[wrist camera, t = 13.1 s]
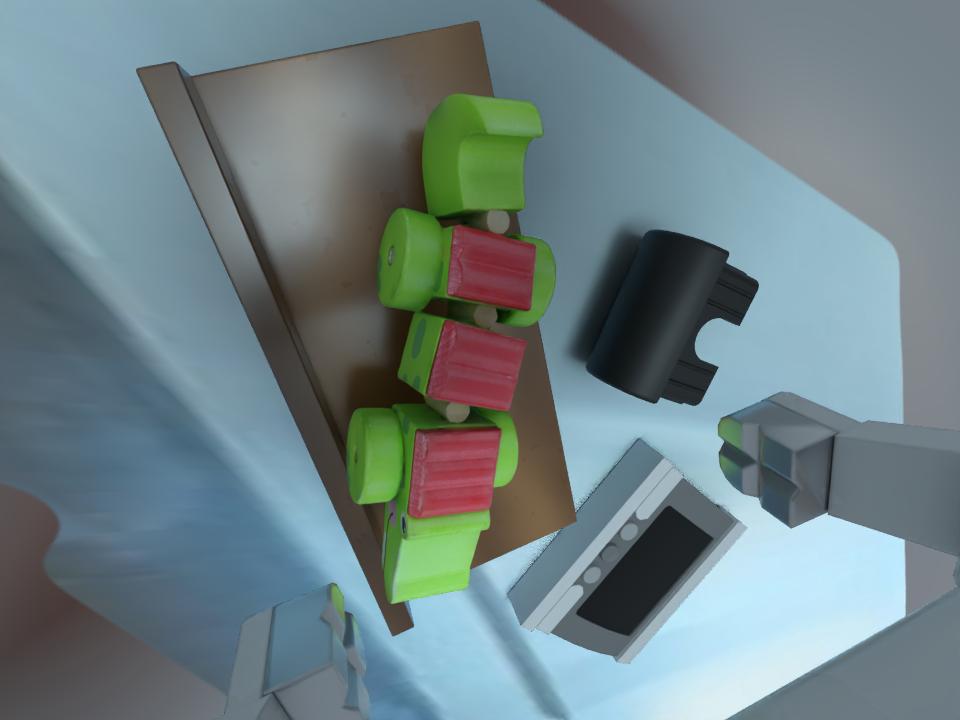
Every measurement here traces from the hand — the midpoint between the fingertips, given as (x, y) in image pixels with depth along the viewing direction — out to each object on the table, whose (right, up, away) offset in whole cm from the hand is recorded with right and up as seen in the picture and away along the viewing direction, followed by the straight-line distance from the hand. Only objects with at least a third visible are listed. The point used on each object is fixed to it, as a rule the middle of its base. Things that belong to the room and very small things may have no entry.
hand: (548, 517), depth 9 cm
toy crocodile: (-4, +3, +12) cm, 13 cm away
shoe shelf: (-6, +5, +20) cm, 22 cm away
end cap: (+10, +7, +25) cm, 28 cm away
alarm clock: (+12, -14, +34) cm, 38 cm away
